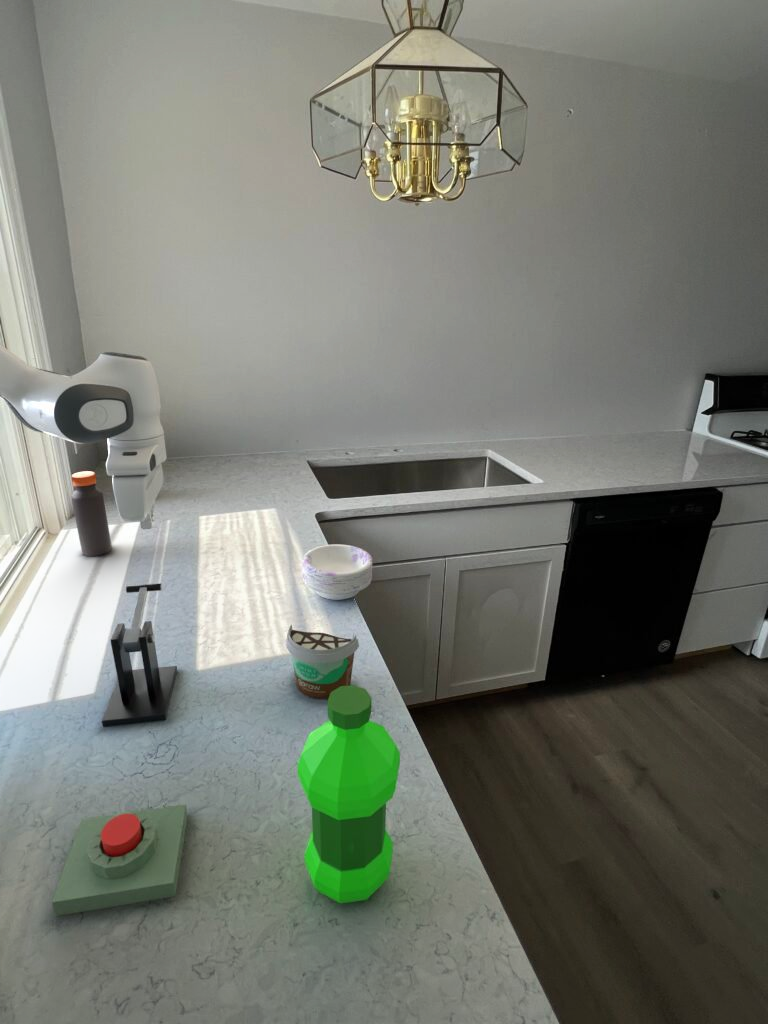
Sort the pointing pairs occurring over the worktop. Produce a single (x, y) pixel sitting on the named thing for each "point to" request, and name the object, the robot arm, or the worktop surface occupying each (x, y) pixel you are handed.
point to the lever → (137, 616)
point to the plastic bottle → (349, 798)
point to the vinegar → (90, 515)
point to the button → (121, 835)
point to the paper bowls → (337, 570)
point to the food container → (321, 661)
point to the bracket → (139, 683)
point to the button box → (123, 863)
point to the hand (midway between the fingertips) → (148, 526)
